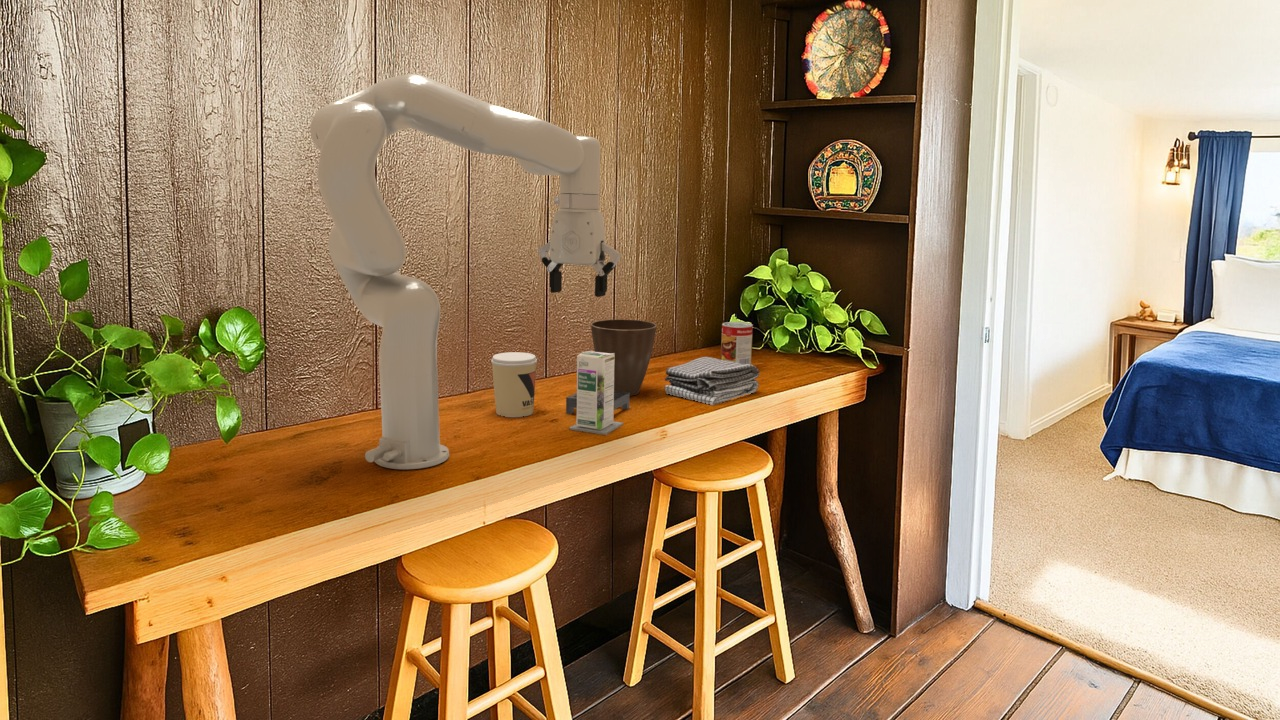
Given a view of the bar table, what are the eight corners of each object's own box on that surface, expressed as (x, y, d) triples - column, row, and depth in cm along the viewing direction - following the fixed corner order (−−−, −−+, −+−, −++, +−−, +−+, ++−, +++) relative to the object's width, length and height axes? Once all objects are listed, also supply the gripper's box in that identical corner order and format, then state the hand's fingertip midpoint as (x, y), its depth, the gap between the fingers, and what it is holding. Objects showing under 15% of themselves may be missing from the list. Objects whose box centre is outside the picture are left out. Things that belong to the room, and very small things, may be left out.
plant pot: (599, 383, 208) (600, 317, 205) (660, 387, 205) (661, 320, 202) (582, 398, 194) (583, 327, 190) (648, 402, 191) (649, 331, 187)
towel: (761, 394, 201) (762, 361, 200) (710, 407, 189) (711, 372, 187) (711, 382, 212) (712, 351, 210) (659, 394, 199) (660, 361, 197)
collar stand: (609, 419, 177) (609, 403, 176) (566, 413, 181) (566, 397, 180) (629, 408, 186) (629, 392, 185) (587, 402, 190) (587, 387, 189)
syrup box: (575, 427, 170) (575, 354, 167) (589, 419, 175) (589, 349, 172) (601, 430, 167) (602, 357, 164) (614, 423, 173) (615, 352, 170)
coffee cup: (528, 420, 175) (528, 362, 173) (485, 416, 177) (484, 359, 175) (543, 408, 184) (542, 353, 182) (501, 405, 186) (500, 350, 184)
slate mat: (606, 434, 166) (606, 432, 166) (569, 429, 169) (569, 427, 169) (623, 424, 173) (623, 422, 173) (587, 419, 176) (587, 417, 176)
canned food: (735, 365, 231) (737, 320, 228) (756, 370, 225) (759, 325, 223) (714, 368, 226) (715, 323, 224) (735, 374, 220) (737, 327, 218)
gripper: (529, 202, 163) (528, 292, 166) (611, 205, 156) (609, 299, 159) (549, 202, 170) (548, 288, 173) (629, 205, 163) (626, 295, 166)
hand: (577, 294), depth 166 cm, fingers open, 9 cm apart
